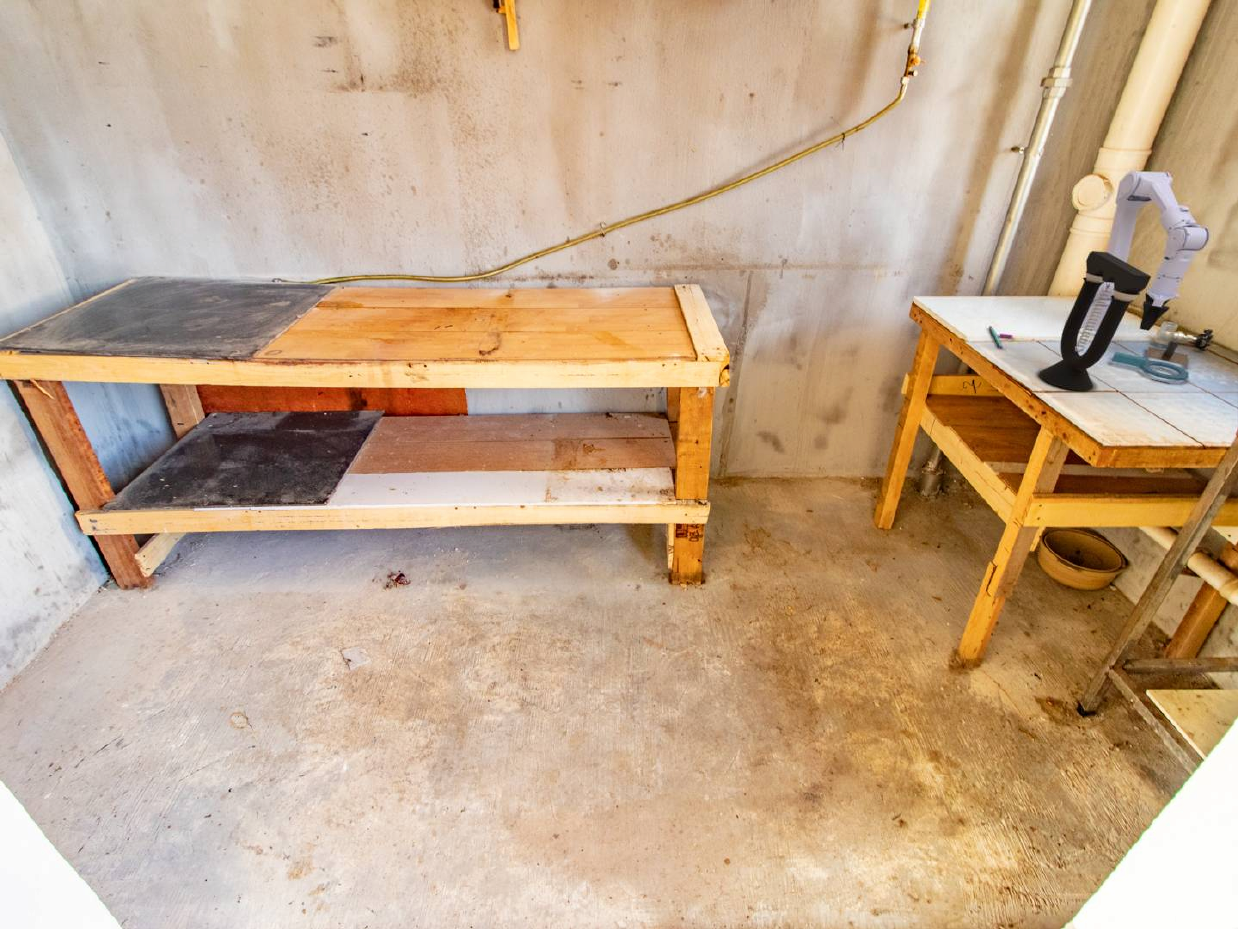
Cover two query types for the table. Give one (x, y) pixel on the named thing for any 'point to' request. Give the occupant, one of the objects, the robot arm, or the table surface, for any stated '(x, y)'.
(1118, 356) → the ring
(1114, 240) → the robot arm
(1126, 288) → the spring support
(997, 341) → the squeegee
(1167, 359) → the ring stand
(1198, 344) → the valve
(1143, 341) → the table surface
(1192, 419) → the table surface
